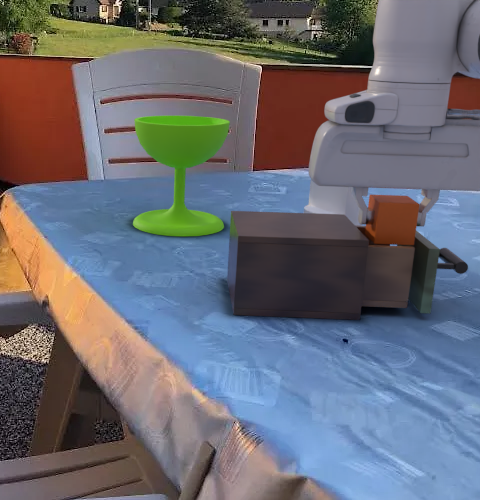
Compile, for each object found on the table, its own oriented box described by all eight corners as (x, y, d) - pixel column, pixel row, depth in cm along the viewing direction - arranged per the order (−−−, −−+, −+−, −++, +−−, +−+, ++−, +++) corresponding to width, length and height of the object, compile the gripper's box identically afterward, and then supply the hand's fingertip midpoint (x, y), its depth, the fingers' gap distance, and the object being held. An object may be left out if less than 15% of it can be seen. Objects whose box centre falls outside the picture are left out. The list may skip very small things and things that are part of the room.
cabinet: (337, 284, 94) (344, 214, 91) (360, 320, 82) (369, 240, 79) (226, 280, 95) (230, 210, 92) (233, 315, 83) (238, 235, 80)
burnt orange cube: (402, 235, 88) (407, 195, 86) (413, 245, 83) (419, 204, 82) (364, 233, 88) (369, 194, 86) (374, 244, 84) (379, 202, 82)
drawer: (436, 283, 93) (445, 225, 90) (470, 315, 82) (481, 250, 79) (297, 278, 94) (302, 220, 91) (312, 309, 83) (318, 244, 80)
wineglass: (205, 241, 114) (211, 128, 108) (116, 228, 120) (117, 121, 115) (236, 220, 127) (242, 119, 122) (154, 210, 134) (157, 113, 129)
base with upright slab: (372, 251, 110) (381, 174, 107) (326, 257, 106) (334, 178, 103) (332, 236, 118) (340, 165, 114) (289, 242, 114) (295, 168, 110)
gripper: (487, 107, 84) (468, 221, 87) (311, 102, 85) (301, 215, 89) (510, 112, 78) (490, 234, 81) (321, 107, 79) (310, 227, 83)
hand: (390, 224), depth 85 cm, fingers closed on burnt orange cube, 4 cm apart
